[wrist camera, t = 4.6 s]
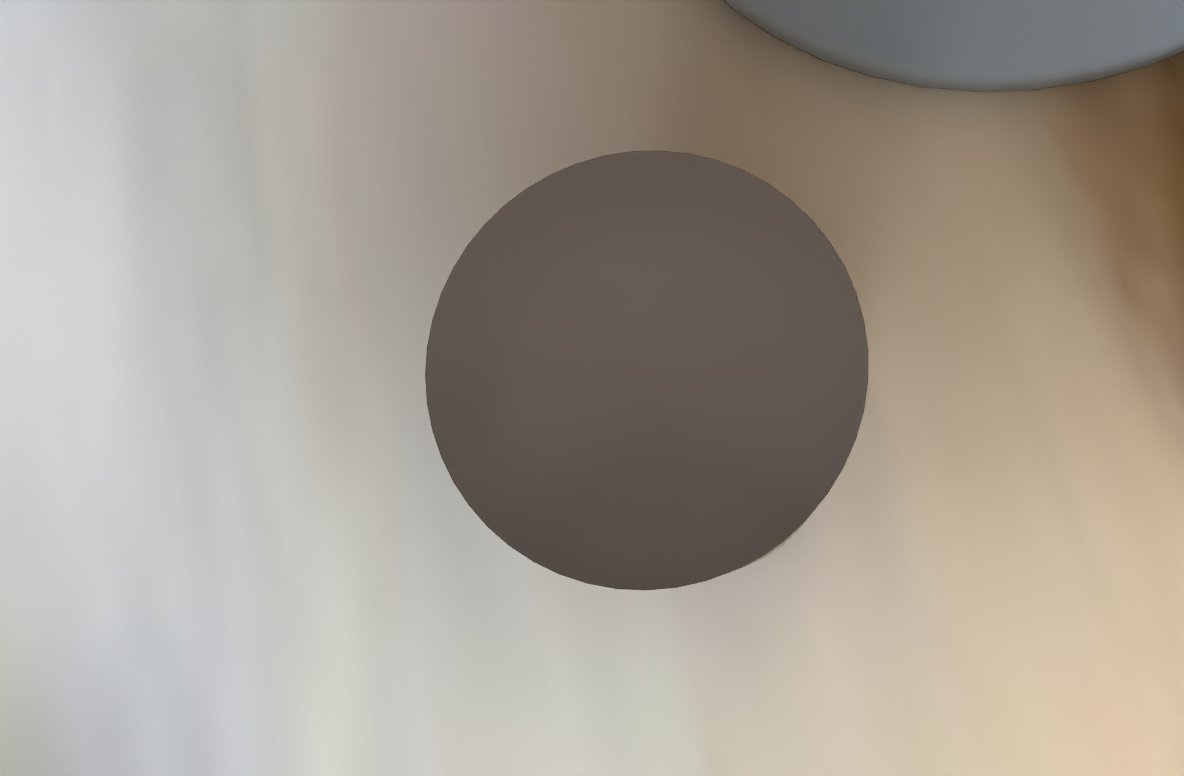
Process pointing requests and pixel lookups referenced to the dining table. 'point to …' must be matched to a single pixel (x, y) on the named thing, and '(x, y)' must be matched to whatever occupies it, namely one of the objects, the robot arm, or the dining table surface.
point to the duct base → (977, 38)
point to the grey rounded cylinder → (647, 370)
